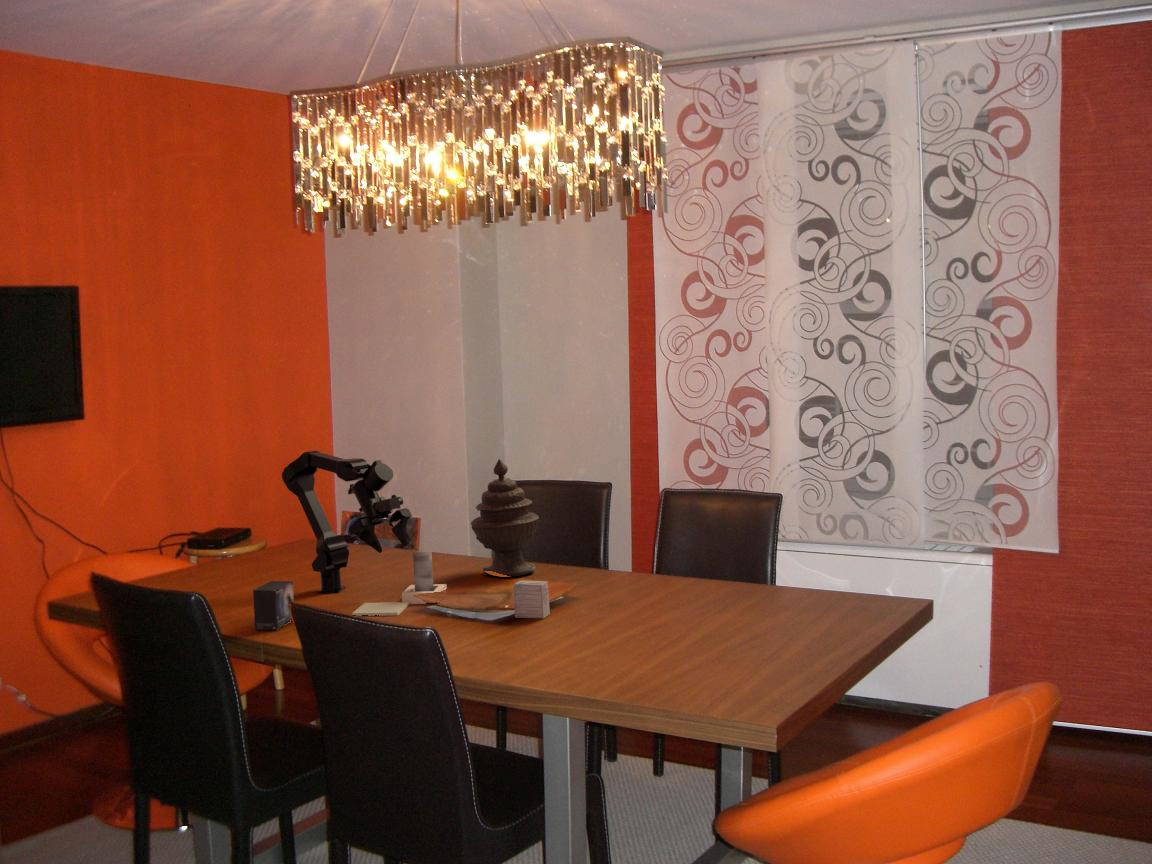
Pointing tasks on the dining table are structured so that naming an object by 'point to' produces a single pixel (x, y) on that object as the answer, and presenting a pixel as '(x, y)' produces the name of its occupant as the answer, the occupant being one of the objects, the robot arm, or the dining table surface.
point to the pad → (381, 609)
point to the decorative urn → (505, 524)
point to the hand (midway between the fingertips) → (393, 549)
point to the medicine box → (531, 599)
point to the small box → (272, 605)
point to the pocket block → (410, 591)
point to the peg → (423, 571)
